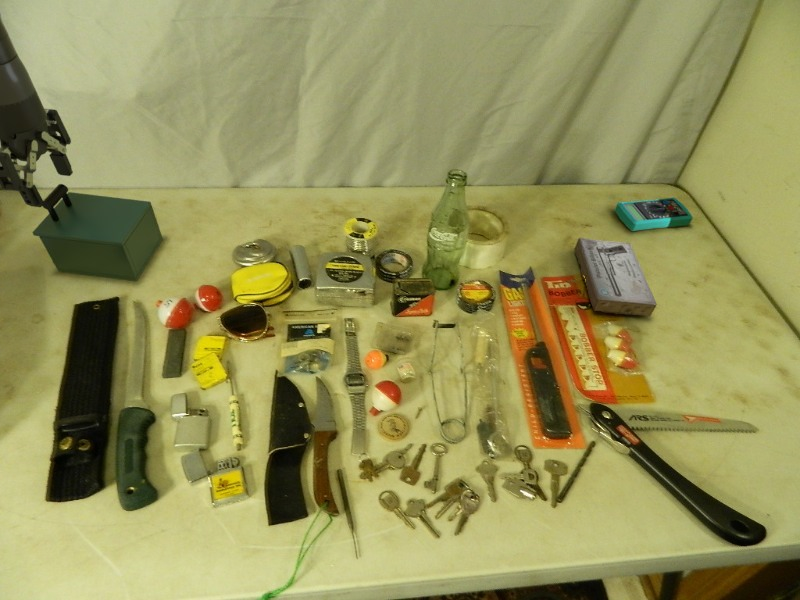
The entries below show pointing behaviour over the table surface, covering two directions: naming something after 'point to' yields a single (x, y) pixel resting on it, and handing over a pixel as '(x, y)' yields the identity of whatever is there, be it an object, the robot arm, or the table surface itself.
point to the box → (614, 278)
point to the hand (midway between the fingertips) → (52, 189)
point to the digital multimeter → (653, 214)
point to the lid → (90, 217)
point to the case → (108, 253)
